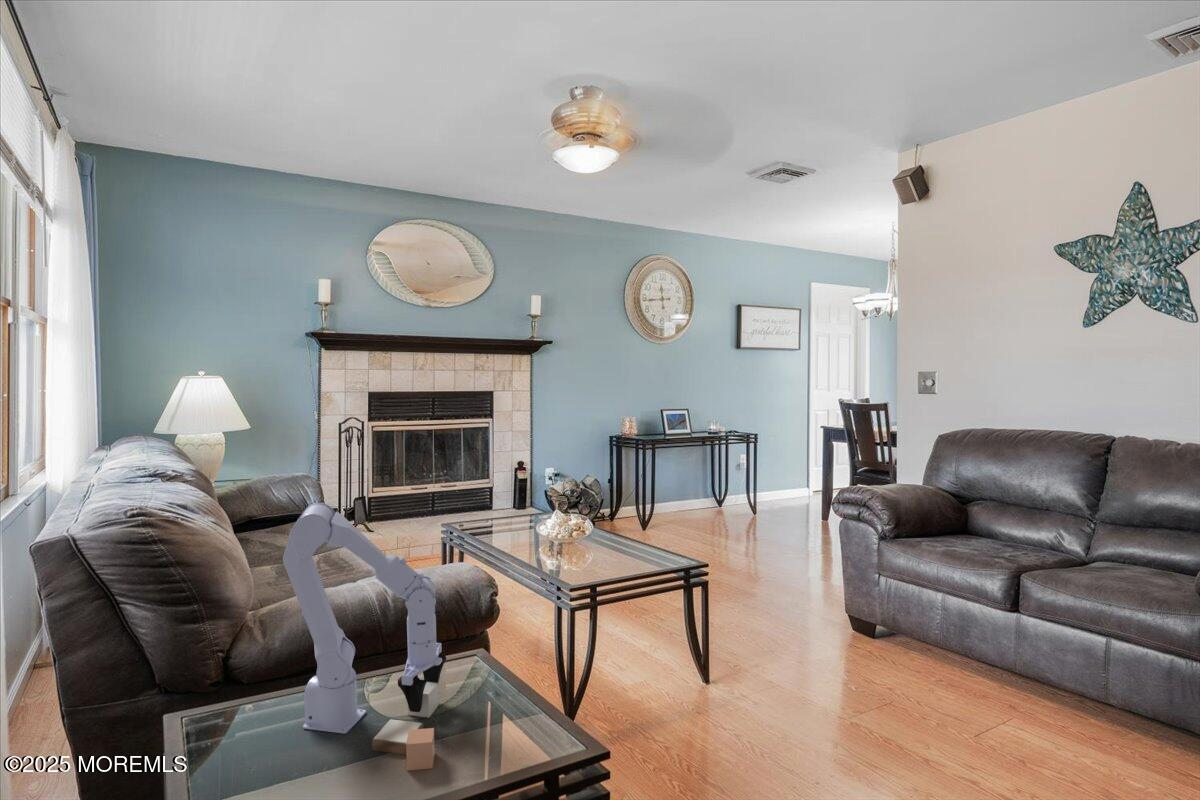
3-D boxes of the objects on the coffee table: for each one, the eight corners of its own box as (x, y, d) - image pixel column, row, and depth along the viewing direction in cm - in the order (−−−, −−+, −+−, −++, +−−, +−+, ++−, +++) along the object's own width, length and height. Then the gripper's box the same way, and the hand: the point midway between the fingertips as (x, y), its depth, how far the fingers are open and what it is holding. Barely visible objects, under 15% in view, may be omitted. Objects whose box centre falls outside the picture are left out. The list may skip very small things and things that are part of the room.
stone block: (408, 715, 143) (407, 691, 142) (418, 703, 147) (417, 680, 147) (428, 717, 142) (428, 694, 142) (438, 705, 147) (437, 683, 146)
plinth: (372, 751, 131) (371, 739, 131) (390, 730, 138) (389, 718, 138) (407, 756, 130) (406, 743, 130) (423, 734, 137) (423, 722, 137)
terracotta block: (406, 770, 125) (406, 744, 125) (409, 755, 130) (409, 729, 129) (432, 768, 126) (432, 742, 125) (434, 753, 130) (433, 727, 130)
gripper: (424, 656, 135) (426, 722, 137) (454, 624, 149) (455, 685, 151) (390, 652, 137) (393, 718, 138) (423, 621, 151) (425, 681, 152)
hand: (423, 701), depth 145 cm, fingers open, 7 cm apart
